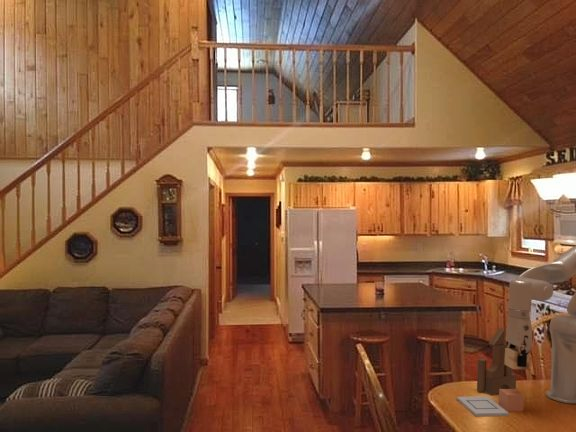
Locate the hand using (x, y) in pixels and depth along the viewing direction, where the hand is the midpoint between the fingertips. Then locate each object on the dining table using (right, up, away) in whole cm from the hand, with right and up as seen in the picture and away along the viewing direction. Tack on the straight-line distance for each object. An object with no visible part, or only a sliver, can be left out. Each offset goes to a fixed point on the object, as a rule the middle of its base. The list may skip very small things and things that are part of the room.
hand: (516, 363), depth 188 cm
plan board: (-13, -16, 0) cm, 20 cm away
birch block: (0, -1, 0) cm, 1 cm away
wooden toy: (0, -16, +18) cm, 24 cm away
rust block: (-2, -16, 0) cm, 16 cm away
